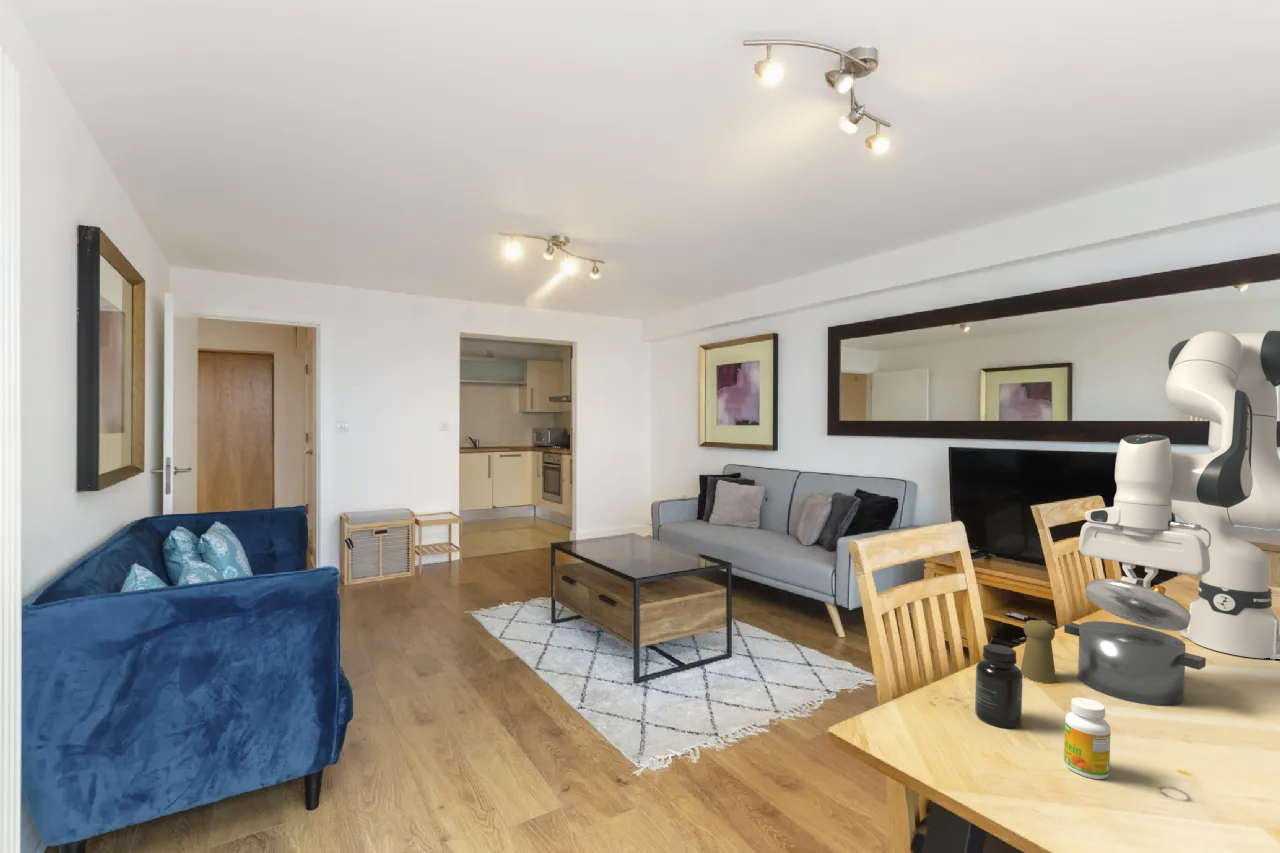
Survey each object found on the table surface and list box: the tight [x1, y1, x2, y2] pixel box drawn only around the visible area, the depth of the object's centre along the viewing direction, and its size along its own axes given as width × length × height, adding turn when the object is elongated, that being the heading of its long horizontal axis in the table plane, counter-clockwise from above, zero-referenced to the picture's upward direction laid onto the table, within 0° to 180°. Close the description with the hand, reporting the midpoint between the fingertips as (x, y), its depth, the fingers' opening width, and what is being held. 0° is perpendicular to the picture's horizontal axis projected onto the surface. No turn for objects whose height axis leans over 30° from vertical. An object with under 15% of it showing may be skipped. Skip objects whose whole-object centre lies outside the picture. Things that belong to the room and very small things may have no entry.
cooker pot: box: [1063, 620, 1207, 707], centre depth 119 cm, size 16×22×10 cm
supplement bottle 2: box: [1063, 697, 1111, 780], centre depth 90 cm, size 5×5×10 cm
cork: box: [1020, 619, 1057, 684], centre depth 123 cm, size 6×6×11 cm
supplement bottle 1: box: [974, 643, 1024, 729], centre depth 105 cm, size 7×7×12 cm
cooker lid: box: [1085, 575, 1191, 632], centre depth 121 cm, size 16×16×4 cm
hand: (1139, 588), depth 121 cm, fingers closed, pressing on cooker lid
